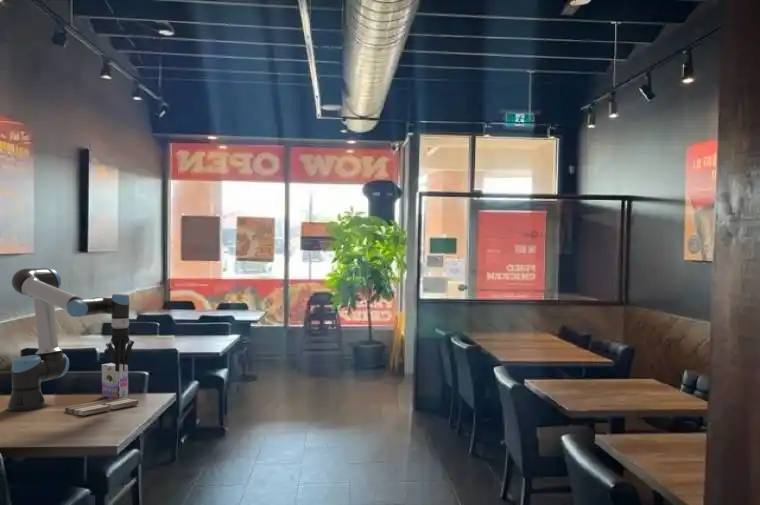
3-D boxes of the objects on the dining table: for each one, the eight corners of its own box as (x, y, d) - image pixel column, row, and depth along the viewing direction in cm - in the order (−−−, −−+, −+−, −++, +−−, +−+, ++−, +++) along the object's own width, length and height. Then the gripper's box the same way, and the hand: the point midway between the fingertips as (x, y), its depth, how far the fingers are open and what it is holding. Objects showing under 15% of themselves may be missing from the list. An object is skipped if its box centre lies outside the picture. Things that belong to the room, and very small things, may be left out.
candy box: (128, 398, 312) (128, 364, 312) (118, 400, 307) (118, 366, 307) (111, 394, 319) (111, 362, 320) (101, 397, 314) (100, 364, 315)
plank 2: (105, 408, 292) (105, 403, 292) (129, 403, 301) (129, 398, 301) (114, 409, 286) (114, 404, 286) (138, 404, 295) (138, 400, 296)
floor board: (65, 411, 285) (64, 407, 285) (121, 400, 306) (121, 396, 306) (72, 414, 281) (72, 409, 281) (129, 402, 301) (129, 398, 301)
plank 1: (74, 414, 281) (74, 409, 281) (100, 408, 290) (100, 404, 290) (83, 415, 276) (83, 410, 276) (109, 410, 285) (109, 405, 285)
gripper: (110, 329, 285) (110, 381, 285) (137, 326, 295) (137, 377, 295) (102, 327, 290) (102, 379, 290) (129, 325, 300) (128, 375, 300)
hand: (119, 378), depth 293 cm, fingers closed
